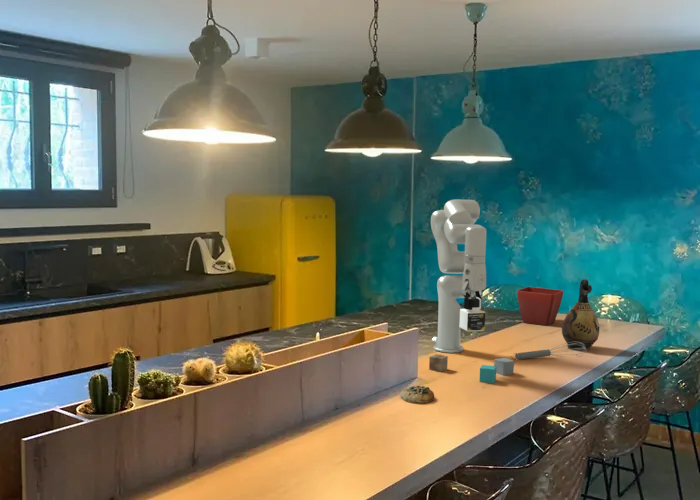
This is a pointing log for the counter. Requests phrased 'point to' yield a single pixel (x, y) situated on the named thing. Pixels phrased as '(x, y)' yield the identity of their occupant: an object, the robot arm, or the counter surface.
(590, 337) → the ceramic jug
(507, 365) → the slate grey block
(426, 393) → the bread roll
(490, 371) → the deep teal block
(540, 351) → the kitchen whisk
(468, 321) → the medicine bottle
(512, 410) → the counter surface
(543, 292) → the plant pot
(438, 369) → the walnut block
